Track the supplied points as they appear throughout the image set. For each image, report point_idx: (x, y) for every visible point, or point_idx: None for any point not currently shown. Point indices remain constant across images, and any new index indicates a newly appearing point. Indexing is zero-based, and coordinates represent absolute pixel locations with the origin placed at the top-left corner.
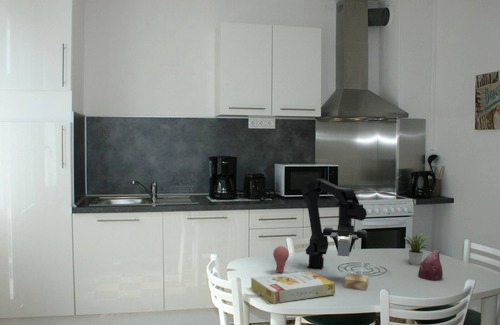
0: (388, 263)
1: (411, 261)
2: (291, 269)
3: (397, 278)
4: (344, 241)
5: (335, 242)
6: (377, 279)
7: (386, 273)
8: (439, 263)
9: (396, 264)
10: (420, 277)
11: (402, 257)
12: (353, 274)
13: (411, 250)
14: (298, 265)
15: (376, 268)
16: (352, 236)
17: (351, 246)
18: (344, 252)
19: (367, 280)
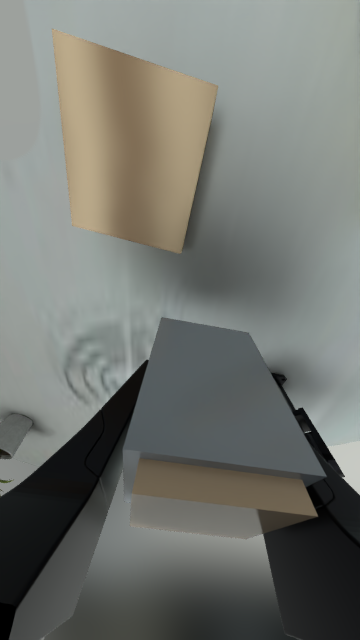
0: (73, 417)
1: (21, 422)
2: (349, 358)
3: (16, 317)
4: (215, 490)
5: (324, 470)
6: (72, 297)
7: (60, 356)
8: None
9: (55, 413)
10: None
11: (56, 443)
12: (150, 236)
13: (9, 456)
14: (304, 391)
15: (93, 388)
16: (52, 624)
17: (119, 403)
18: (199, 342)
19: (67, 133)
